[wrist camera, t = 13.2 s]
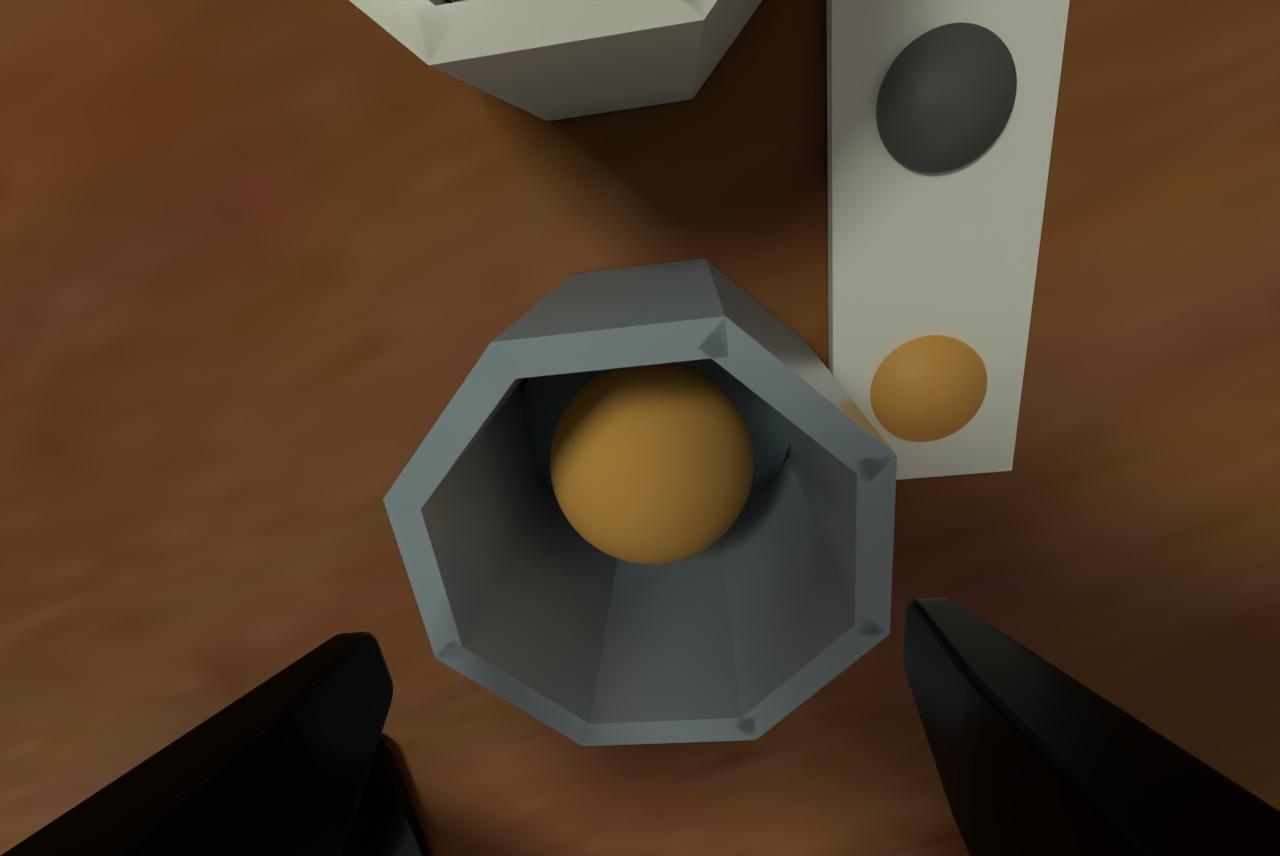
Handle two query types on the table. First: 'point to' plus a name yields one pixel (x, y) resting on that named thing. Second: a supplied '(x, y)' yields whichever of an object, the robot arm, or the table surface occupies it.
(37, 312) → the table surface
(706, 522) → the orange ball
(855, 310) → the card
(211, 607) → the table surface
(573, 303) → the slate cup
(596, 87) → the cream cup
